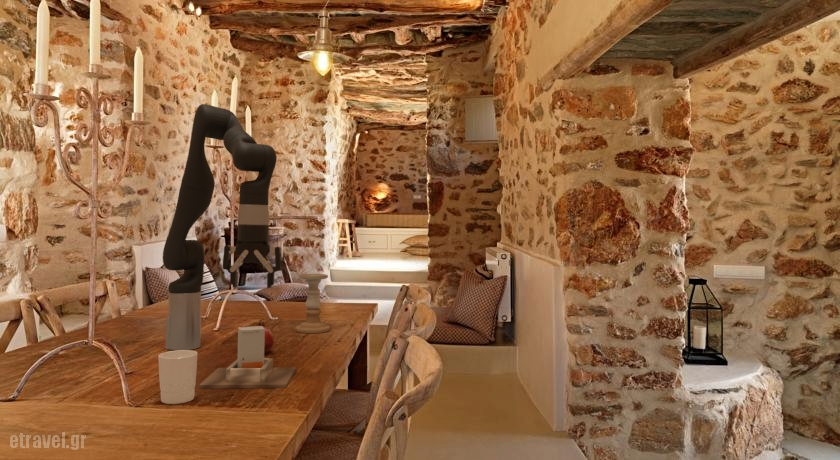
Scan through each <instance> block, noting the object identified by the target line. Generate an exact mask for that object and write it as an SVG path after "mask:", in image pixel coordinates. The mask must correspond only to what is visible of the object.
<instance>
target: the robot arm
mask: <svg viewBox="0 0 840 460" xmlns="http://www.w3.org/2000/svg"><path fill="white" fill-rule="evenodd" d="M206 138H208V139H213V140H218V141H222V142H223V146H224V148H225V149H226V150H227V152H228V153H229V154H230V155H231V157H232V163H233V166H234V167H235V168H236V169H237V170H239V171H244V172H255V173H258V175H257V177H256V178H255V179H252V180H246V181H242V182H241V183H240V185H239V204H238V212H237V213H238V214H237V244H236V246H233V245H229V244H228V245H225V246H224V247H223V258H222V269H223V270H226V271H229V273H230V275H229V276H230V277H229V281H230V282H229V284H230V286H232V288H236V287H238V285H239V284H238V282H239V272H238V269H240V267H241V266H242V265H243V264H244V263H245V264H251V263H252V264H260V263H261V264H262V266H263V267H264V268H265V269H266V270H267V271H268V272H267V273H266V274H267V275H266V278H267V281H266V287H267V289H272V286H274V284H275V273H276V272H278V271H281V270H282V269H283V255H282V247H281V246H280V245H279V246H274V247H273V246H271V247H270V244H269V242H270V241H269V240H270V239H269V238H270V237H269V236H270V210H269V209H270V208H269V191H270V190H269V189H270V185H271V180H272V177H273V173H274V172H275V167H276V165H277V161H278V160H277V157H278V156H277V152H276V151H275V149H274V147H273V146H271V145H269V144H262V143H257V141H256V139H254V137H252V136H251V135H250V134H249V133H248V132H246V130H245V129H244V128H243V126H242V125H241V122H240V121H239V119H238V117H237V116H236V115H235V114H234V112H233V111H231V110H229V109H226V108H222V107H218V106H215V105H210V104H204V103H201V104H200V105H198V106H197V108H196V110H195V113H194V116H193V122H192V127H191V135H190V140H189V141H190V142H189V149H188V154H187V159H186V163H185V167H184V170H183V171H184V172H183V174H182V175H183V176H182V179H181V182H180V186H179V191H178V197H177V203H176V206H175V210H174V213H173V218H172V222H171V225H170V228H169V231H168V233H167V237H166V240H165V243H164V247H163V250H162V263H163V266H164V268H166V270H169V271H183V274H182V275H181V276H179V277H178V278H177V279H175V280H173V281H171V282H170V283H169V285H168V316H167V317H166V318H165V350H170V351H177V350H191V351H192V350H194V349H198V348H201V341H202V339H201V335H202V334H201V333H202V331H201V329H202V326H201V325H202V323H201V322H202V321H201V319H202V316H201V315H202V309H201V308H202V284H203V281H204V271H205V270H204V267H205V249H204V245H203V243H202V242H200V241H199V240H196V239H187V237H188V235H189V232H190V231H191V228H192V227H193V226H194V224H195V223H196V222H197V221H198V220H199V219H200V218H201V217H202V216H203V215H204V214H205V212H206V211H207V209H208V208H209V207H210V205H211V203H212V199H213V195H214V190H215V185H216V183H215V177H214V174H213V172H212V170H211V167H210V165H209V162H208V160H207V155H206V152H205V143H206ZM235 252H236V254H237V256H238V257H237V259H236V260H235V261H234V264H232V265H231V261H232V255H234V253H235ZM270 252H271V253H272V254H271V255H273V256H274V260H275V261H274V263H275V264H274V265H275V266H273V264H272V263H271V261H270V260H269V258H268V257H267V256H268V255H269V254H270Z"/></svg>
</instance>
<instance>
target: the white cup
mask: <svg viewBox="0 0 840 460" xmlns="http://www.w3.org/2000/svg"><path fill="white" fill-rule="evenodd" d="M157 356H158V358H157V359H158V374H159V375H158V377H159V378H158V379H159V389H160V402H161V403H163V404H167V405H179V404H185V403H188V402H191V401H192V400H194V399H195V391H196V390H195V389H196V385H197V384H196V382H197V381H196V380H197V371H198V351H196V350H192V349H191V350H170V351H165V352H161V353H160V354H158V355H157Z"/></svg>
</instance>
